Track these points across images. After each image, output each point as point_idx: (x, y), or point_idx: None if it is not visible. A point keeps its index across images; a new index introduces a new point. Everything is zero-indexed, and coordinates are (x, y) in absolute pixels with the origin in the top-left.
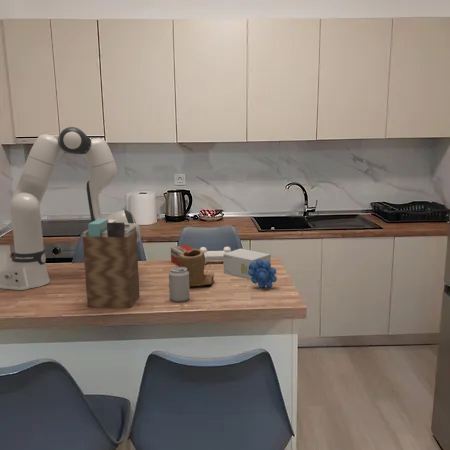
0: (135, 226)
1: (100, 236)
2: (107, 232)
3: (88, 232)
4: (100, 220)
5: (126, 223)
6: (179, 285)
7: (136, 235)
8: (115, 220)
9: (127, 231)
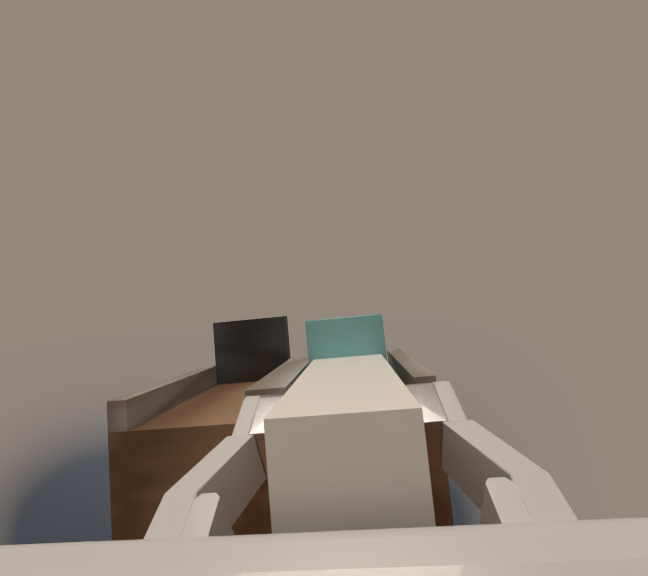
0: (112, 401)
1: None
2: (289, 356)
3: (392, 361)
4: (345, 317)
5: (67, 543)
6: None
7: (112, 470)
8: (274, 410)
9: (202, 369)
